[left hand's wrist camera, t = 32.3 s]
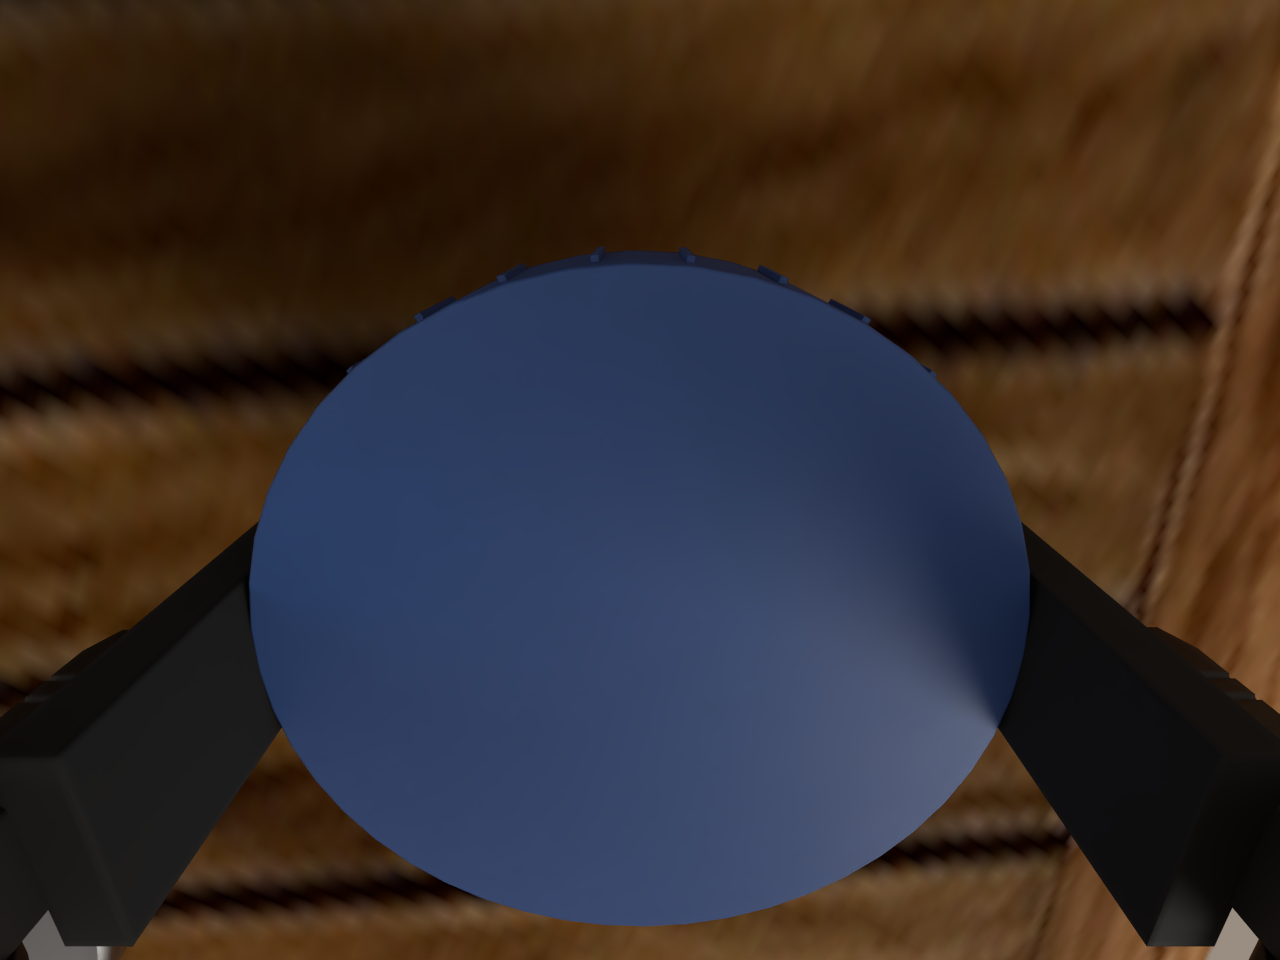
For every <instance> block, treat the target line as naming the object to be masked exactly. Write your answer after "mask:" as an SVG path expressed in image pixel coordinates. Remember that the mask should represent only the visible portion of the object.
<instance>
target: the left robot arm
mask: <svg viewBox="0 0 1280 960" xmlns="http://www.w3.org/2000/svg"><path fill="white" fill-rule="evenodd" d="M258 523H259V522H258ZM258 523H256V524H255V525H254V526H253V527H252V528H250V529H249V530H248V531H247V532H246V533H244V534H243V535H242V536H241V537H240V538H238V539H237V540H236V541H235V542H234V543H233V544H231V545H230V546H229V547H228V548H227V549H225V550H224V551H223V552H222V553H221V554H219V555H218V556H217V557H216V558H215V559H213V560H212V561H211V562H210V563H209V564H208V565H206V566H205V567H204V568H203V569H202V570H200V571H199V572H198V573H197V574H196V575H194V576H193V577H192V578H191V579H190V580H188V581H187V582H186V583H185V584H184V585H183V586H181V587H180V588H179V589H178V590H177V591H175V592H174V593H173V594H172V595H171V596H169V597H168V598H167V599H166V600H165V601H163V602H162V603H161V604H160V605H159V606H158V607H156V608H155V609H154V610H153V611H152V612H150V613H149V614H148V615H147V616H146V617H144V618H143V619H142V620H141V621H140V622H138V623H137V624H136V625H135V626H134V627H133V628H131V629H130V630H122V631H120V632H118V633H116V634H114V635H112V636H110V637H108V638H106V639H105V640H103V641H101V642H99V643H97V644H95V645H93V646H91V647H89V648H87V649H86V650H84V651H82V652H81V653H80V654H78V655H77V656H76V657H75V658H73V659H72V660H71V661H70V662H68V663H67V664H66V665H65V666H63V667H62V668H61V669H60V670H58V671H57V672H56V673H55V674H54V675H52V676H51V677H52V679H51V681H45V682H44V683H42V684H41V685H40V686H39V687H37V688H36V689H35V690H34V691H32V692H31V693H30V694H29V695H27V696H26V697H25V702H24V703H18V704H16V705H15V706H14V707H13V708H11V709H10V710H9V711H8V712H6V713H5V714H4V715H3V716H1V717H0V960H119V959H120V957H121V956H122V954H123V953H124V950H125V948H126V946H133V945H134V944H135V942H136V941H137V939H138V938H139V936H140V935H141V933H142V932H143V930H144V929H145V928H146V926H147V925H148V923H149V922H150V920H151V919H152V917H153V916H154V914H155V913H156V911H157V910H158V908H159V907H160V905H161V904H162V903H163V901H164V900H165V898H166V897H167V895H168V894H169V892H170V891H171V889H172V888H173V886H174V885H175V883H176V882H177V881H178V879H179V878H180V876H181V875H182V873H183V872H184V870H185V869H186V867H187V866H188V864H189V863H190V861H191V860H192V858H193V857H194V856H195V854H196V853H197V851H198V850H199V848H200V847H201V845H202V844H203V842H204V841H205V839H206V838H207V836H208V835H209V833H210V832H211V831H212V829H213V828H214V826H215V825H216V823H217V822H218V820H219V819H220V817H221V816H222V814H223V813H224V811H225V810H226V808H227V807H228V806H229V804H230V803H231V801H232V800H233V798H234V797H235V795H236V794H237V792H238V791H239V789H240V788H241V786H242V785H243V783H244V782H245V781H246V779H247V778H248V776H249V775H250V773H251V772H252V770H253V769H254V767H255V766H256V764H257V763H258V761H259V760H260V759H261V757H262V756H263V754H264V753H265V751H266V750H267V748H268V747H269V745H270V744H271V742H272V741H273V739H274V738H275V736H276V735H277V734H278V732H279V731H280V729H281V728H282V726H281V724H280V722H279V721H278V719H277V717H276V715H275V713H274V711H273V709H272V706H271V703H270V700H269V697H268V695H267V692H266V689H265V686H264V683H263V679H262V676H261V672H260V668H259V664H258V660H257V656H256V651H255V647H254V643H253V638H252V633H251V627H250V601H249V578H250V570H251V561H252V553H253V545H254V537H255V534H256V530H257V527H258ZM1021 523H1022V522H1021ZM1022 528H1023V534H1024V540H1025V546H1026V551H1027V557H1028V563H1029V569H1030V619H1029V626H1028V633H1027V639H1026V646H1025V650H1024V655H1023V659H1022V663H1021V667H1020V670H1019V674H1018V678H1017V681H1016V685H1015V688H1014V691H1013V695H1012V698H1011V700H1010V702H1009V704H1008V706H1007V709H1006V711H1005V713H1004V715H1003V717H1002V719H1001V721H1000V724H999V726H998V728H999V730H1000V731H1001V733H1002V734H1003V736H1004V737H1005V739H1006V740H1007V742H1008V743H1009V744H1010V746H1011V747H1012V749H1013V750H1014V752H1015V753H1016V755H1017V756H1018V758H1019V759H1020V761H1021V762H1022V764H1023V765H1024V767H1025V768H1026V769H1027V771H1028V772H1029V774H1030V775H1031V777H1032V778H1033V780H1034V781H1035V783H1036V784H1037V786H1038V787H1039V789H1040V790H1041V792H1042V793H1043V794H1044V796H1045V797H1046V799H1047V800H1048V802H1049V803H1050V805H1051V806H1052V808H1053V809H1054V811H1055V812H1056V814H1057V815H1058V817H1059V818H1060V819H1061V821H1062V822H1063V824H1064V825H1065V827H1066V828H1067V830H1068V831H1069V833H1070V834H1071V836H1072V837H1073V839H1074V840H1075V841H1076V843H1077V844H1078V846H1079V847H1080V849H1081V850H1082V852H1083V853H1084V855H1085V856H1086V858H1087V859H1088V861H1089V862H1090V864H1091V865H1092V866H1093V868H1094V869H1095V871H1096V872H1097V874H1098V875H1099V877H1100V878H1101V880H1102V881H1103V883H1104V884H1105V886H1106V887H1107V889H1108V890H1109V891H1110V893H1111V894H1112V896H1113V897H1114V899H1115V900H1116V902H1117V903H1118V905H1119V906H1120V908H1121V909H1122V911H1123V912H1124V914H1125V915H1126V916H1127V918H1128V919H1129V921H1130V922H1131V924H1132V925H1133V927H1134V928H1135V930H1136V931H1137V933H1138V934H1139V936H1140V937H1141V939H1142V940H1143V941H1144V943H1145V944H1146V946H1215V944H1216V942H1217V939H1218V937H1219V935H1220V933H1221V931H1222V929H1223V926H1224V924H1225V922H1226V920H1227V918H1228V916H1229V913H1230V911H1231V909H1232V908H1233V909H1234V910H1235V911H1236V912H1237V913H1238V915H1239V916H1240V917H1241V918H1242V919H1243V921H1244V922H1245V923H1246V924H1247V925H1248V927H1249V928H1250V929H1251V930H1252V931H1253V933H1254V934H1255V935H1256V936H1257V937H1258V939H1259V940H1258V942H1257V944H1256V946H1255V948H1254V950H1253V952H1252V954H1251V956H1250V958H1249V960H1280V714H1279V713H1278V712H1276V711H1275V710H1274V709H1273V708H1271V707H1270V706H1269V705H1268V704H1266V703H1265V702H1264V701H1263V700H1256V698H1255V694H1254V693H1253V692H1251V691H1250V690H1249V689H1248V688H1246V687H1245V686H1244V685H1243V684H1241V683H1240V682H1239V681H1238V680H1236V679H1235V678H1229V673H1228V672H1226V671H1225V670H1224V669H1223V668H1221V667H1220V666H1219V665H1218V664H1216V663H1215V662H1214V661H1213V660H1211V659H1210V658H1209V657H1208V656H1206V655H1205V654H1204V653H1203V652H1201V651H1200V650H1199V649H1198V648H1196V647H1194V646H1192V645H1190V644H1188V643H1186V642H1184V641H1182V640H1180V639H1179V638H1177V637H1175V636H1173V635H1171V634H1169V633H1167V632H1165V631H1163V630H1161V629H1159V628H1158V627H1146V626H1145V625H1143V624H1142V623H1141V622H1140V621H1139V620H1137V619H1136V618H1135V617H1134V616H1133V615H1131V614H1130V613H1129V612H1128V611H1127V610H1126V609H1124V608H1123V607H1122V606H1121V605H1120V604H1118V603H1117V602H1116V601H1115V600H1114V599H1112V598H1111V597H1110V596H1109V595H1108V594H1106V593H1105V592H1104V591H1103V590H1102V589H1101V588H1099V587H1098V586H1097V585H1096V584H1095V583H1093V582H1092V581H1091V580H1090V579H1089V578H1087V577H1086V576H1085V575H1084V574H1083V573H1082V572H1080V571H1079V570H1078V569H1077V568H1076V567H1074V566H1073V565H1072V564H1071V563H1070V562H1068V561H1067V560H1066V559H1065V558H1064V557H1062V556H1061V555H1060V554H1059V553H1058V552H1057V551H1055V550H1054V549H1053V548H1052V547H1051V546H1049V545H1048V544H1047V543H1046V542H1045V541H1043V540H1042V539H1041V538H1040V537H1039V536H1037V535H1036V534H1035V533H1034V532H1033V531H1032V530H1030V529H1029V528H1028V527H1027V526H1026V525H1024V524H1023V523H1022Z"/></svg>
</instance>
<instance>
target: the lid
mask: <svg viewBox="0 0 1280 960" xmlns="http://www.w3.org/2000/svg"><path fill="white" fill-rule="evenodd" d="M414 318H415V320H416V321H417V323H415V324H413V325H412V326H410V327H408V328H406V329H404V330H403V331H401V332H399V333H398V334H397V335H395V336H394V337H393V338H391V339H390V340H389V341H388V342H386V343H385V344H384V345H382V346H381V347H380V348H378V349H377V350H376V351H375V352H373V353H372V354H371V355H369V356H368V357H367V358H365V359H363V360H361V361H360V362H358V363H356V364H354V365H353V366H351V367H350V368H349V369H348V370H347V371H346V372H347V373H348V374H347V376H346V377H345V378H344V379H343V380H342V381H341V382H340V383H339V384H338V385H337V386H336V387H335V388H334V389H333V390H332V391H331V392H330V393H329V394H328V395H327V397H326V398H325V399H324V400H323V401H322V402H321V403H320V404H319V405H318V406H317V408H316V409H315V410H314V412H313V413H312V415H311V416H310V418H309V419H308V421H307V422H306V423H305V425H304V426H303V428H302V429H301V431H300V432H299V434H298V435H297V436H296V438H295V439H294V441H293V442H292V444H291V445H290V447H289V448H288V450H287V452H286V455H285V457H284V459H283V461H282V463H281V465H280V467H279V469H278V471H277V473H276V476H275V478H274V480H273V482H272V484H271V486H270V488H269V490H268V493H267V496H266V499H265V503H264V506H263V510H262V513H261V517H260V520H259V523H258V527H257V530H256V534H255V537H254V545H253V553H252V561H251V570H250V578H249V601H250V627H251V633H252V638H253V643H254V647H255V651H256V656H257V660H258V664H259V668H260V672H261V676H262V679H263V683H264V686H265V689H266V692H267V695H268V697H269V700H270V703H271V706H272V709H273V711H274V713H275V715H276V717H277V719H278V721H279V722H280V724H281V726H282V728H283V730H284V732H285V734H286V736H287V738H288V740H289V742H290V744H291V746H292V747H293V749H294V750H295V752H296V753H297V754H298V756H299V757H300V759H301V760H302V762H303V763H304V764H305V766H306V767H307V769H308V770H309V772H310V773H311V774H312V776H313V777H314V779H315V780H316V781H317V782H318V784H319V785H320V786H321V787H322V788H323V789H324V790H325V791H326V792H327V793H328V795H329V796H330V797H331V798H332V799H333V800H334V801H335V802H336V803H337V805H338V806H339V807H340V808H341V809H342V810H343V811H344V812H345V813H346V814H347V815H348V816H350V817H351V818H352V819H353V820H354V821H355V822H356V823H358V824H359V825H360V826H361V827H362V828H363V829H364V830H366V831H367V832H368V833H369V834H370V835H371V836H372V837H374V838H375V839H376V840H378V841H379V842H380V843H382V844H383V845H385V846H386V847H388V848H389V849H391V850H392V851H393V852H395V853H396V854H398V855H399V856H401V857H402V858H403V859H405V860H406V861H408V862H409V863H411V864H413V865H415V866H417V867H418V868H420V869H422V870H424V871H426V872H427V873H429V874H431V875H433V876H435V877H437V878H438V879H440V880H442V881H444V882H446V883H448V884H450V885H453V886H455V887H458V888H460V889H462V890H465V891H467V892H469V893H472V894H474V895H476V896H479V897H481V898H483V899H487V900H490V901H493V902H496V903H499V904H502V905H505V906H509V907H512V908H515V909H518V910H521V911H525V912H530V913H534V914H539V915H544V916H548V917H553V918H557V919H562V920H569V921H577V922H586V923H594V924H602V925H626V926H657V925H674V924H689V923H696V922H702V921H709V920H716V919H722V918H729V917H733V916H737V915H741V914H745V913H749V912H753V911H757V910H761V909H765V908H769V907H772V906H775V905H778V904H781V903H784V902H786V901H789V900H792V899H795V898H798V897H801V896H804V895H807V894H809V893H811V892H813V891H816V890H818V889H820V888H822V887H824V886H826V885H829V884H831V883H833V882H835V881H837V880H839V879H842V878H844V877H846V876H847V875H849V874H851V873H853V872H854V871H856V870H858V869H859V868H861V867H863V866H864V865H866V864H868V863H870V862H871V861H873V860H875V859H876V858H878V857H880V856H881V855H883V854H884V853H885V852H887V851H888V850H889V849H891V848H892V847H893V846H895V845H896V844H897V843H899V842H900V841H901V840H903V839H904V838H905V837H907V836H908V835H910V834H911V833H912V832H914V831H915V830H916V829H917V828H918V827H919V826H920V825H921V824H922V823H923V822H924V821H925V820H926V819H928V818H929V817H930V816H931V815H932V814H933V813H934V812H935V811H936V810H937V809H938V808H939V807H940V806H941V805H943V804H944V803H945V801H946V800H947V799H948V798H949V797H950V795H951V794H952V793H953V792H954V791H955V790H956V788H957V787H958V786H959V785H960V784H961V782H962V781H963V780H964V779H965V778H966V776H967V775H968V774H969V773H970V772H971V770H972V769H973V767H974V766H975V764H976V763H977V761H978V760H979V758H980V756H981V755H982V753H983V752H984V750H985V749H986V747H987V746H988V744H989V742H990V741H991V739H992V738H993V736H994V734H995V732H996V730H997V728H998V726H999V724H1000V721H1001V719H1002V717H1003V715H1004V713H1005V711H1006V709H1007V706H1008V704H1009V702H1010V700H1011V698H1012V695H1013V691H1014V688H1015V685H1016V681H1017V678H1018V674H1019V670H1020V667H1021V663H1022V659H1023V655H1024V650H1025V646H1026V639H1027V633H1028V626H1029V619H1030V569H1029V563H1028V557H1027V551H1026V546H1025V540H1024V534H1023V528H1022V523H1021V520H1020V517H1019V514H1018V511H1017V509H1016V506H1015V503H1014V500H1013V497H1012V494H1011V491H1010V488H1009V485H1008V482H1007V479H1006V477H1005V476H1004V474H1003V472H1002V470H1001V468H1000V466H999V464H998V462H997V461H996V459H995V457H994V455H993V453H992V451H991V449H990V448H989V446H988V444H987V442H986V440H985V438H984V436H983V435H982V433H981V432H980V431H979V429H978V428H977V427H976V426H975V424H974V423H973V422H972V420H971V419H970V418H969V416H968V415H967V414H966V412H965V411H964V410H963V408H962V407H961V406H960V405H959V403H958V402H957V401H956V399H955V398H954V397H953V395H952V394H951V393H950V392H949V391H948V390H947V389H946V388H945V387H944V386H943V385H942V384H941V383H940V382H938V381H937V380H936V379H935V377H936V376H937V375H936V374H935V373H934V372H933V371H932V370H930V369H929V368H927V367H925V366H924V365H922V364H920V363H919V362H918V361H917V360H916V359H914V358H913V357H912V356H911V355H910V354H908V353H907V352H905V351H904V350H903V349H901V348H900V347H898V346H897V345H895V344H894V343H893V342H891V341H890V340H888V339H887V338H886V337H884V336H883V335H881V334H880V333H878V332H877V331H876V330H874V329H873V328H871V327H870V326H868V323H869V322H870V319H869V318H867V317H866V316H864V315H862V314H860V313H858V312H856V311H854V310H852V309H850V308H848V307H846V306H844V305H842V304H840V303H838V302H836V301H834V300H832V299H831V300H830V301H829V303H827V302H825V301H823V300H821V299H819V298H817V297H815V296H813V295H811V294H809V293H807V292H805V291H803V290H801V289H799V288H797V287H795V286H793V285H791V284H789V283H788V278H786V277H784V276H782V275H780V274H778V273H776V272H774V271H773V270H771V269H769V268H767V267H764V266H762V265H759V268H758V271H756V270H754V269H751V268H748V267H745V266H742V265H739V264H736V263H733V262H728V261H723V260H718V259H712V258H707V257H702V256H697V255H694V254H693V253H692V252H691V251H689V250H688V249H687V248H684V247H680V251H679V253H675V252H654V251H634V250H632V251H620V252H609V253H605V247H598V248H597V249H596V250H595V251H594V252H593V253H592V254H587V255H580V256H575V257H571V258H567V259H562V260H558V261H554V262H549V263H545V264H541V265H536V266H533V267H530V268H526V265H525V263H524V264H521V265H518V266H516V267H514V268H512V269H510V270H508V271H506V272H504V273H503V274H501V275H499V276H497V280H496V281H494V282H491V283H488V284H486V285H485V286H483V287H481V288H479V289H477V290H475V291H473V292H472V293H470V294H468V295H466V296H464V297H462V298H460V299H458V300H457V301H456V300H455V299H454V297H453V296H452V297H450V298H448V299H446V300H444V301H442V302H440V303H438V304H436V305H434V306H432V307H430V308H428V309H426V310H424V311H422V312H420V313H418V314H417V315H415V316H414Z"/></svg>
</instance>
